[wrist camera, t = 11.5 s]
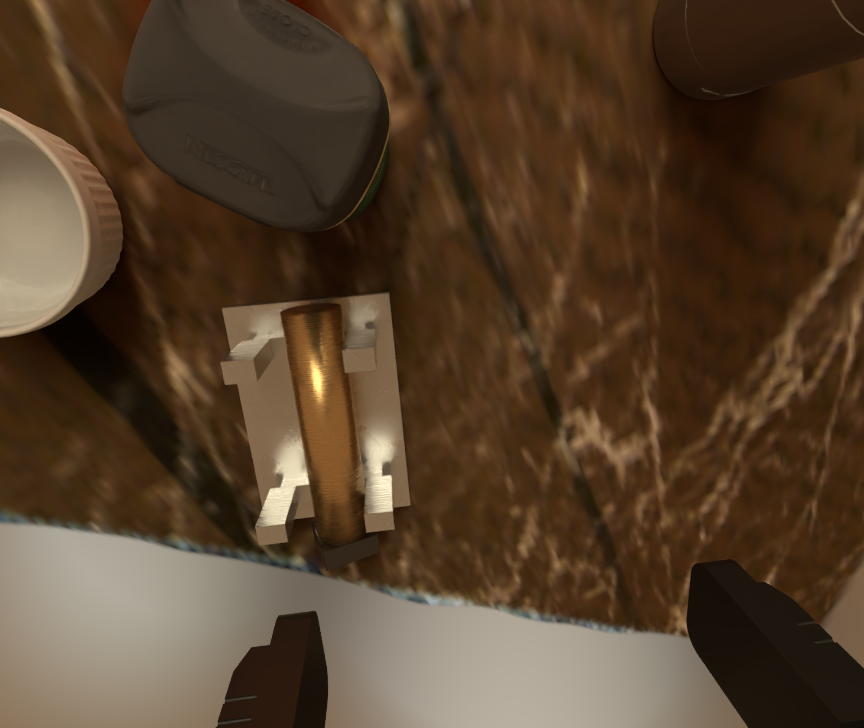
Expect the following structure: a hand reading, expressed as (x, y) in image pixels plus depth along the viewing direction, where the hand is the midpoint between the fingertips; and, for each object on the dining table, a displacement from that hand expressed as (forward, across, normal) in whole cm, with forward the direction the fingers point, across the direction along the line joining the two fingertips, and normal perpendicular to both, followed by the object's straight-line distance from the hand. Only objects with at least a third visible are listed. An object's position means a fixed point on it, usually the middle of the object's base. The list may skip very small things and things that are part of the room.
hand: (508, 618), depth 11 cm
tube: (+28, +8, +7) cm, 30 cm away
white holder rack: (+30, +8, +7) cm, 32 cm away
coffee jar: (+30, +6, -12) cm, 33 cm away
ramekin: (+30, +25, -9) cm, 40 cm away
